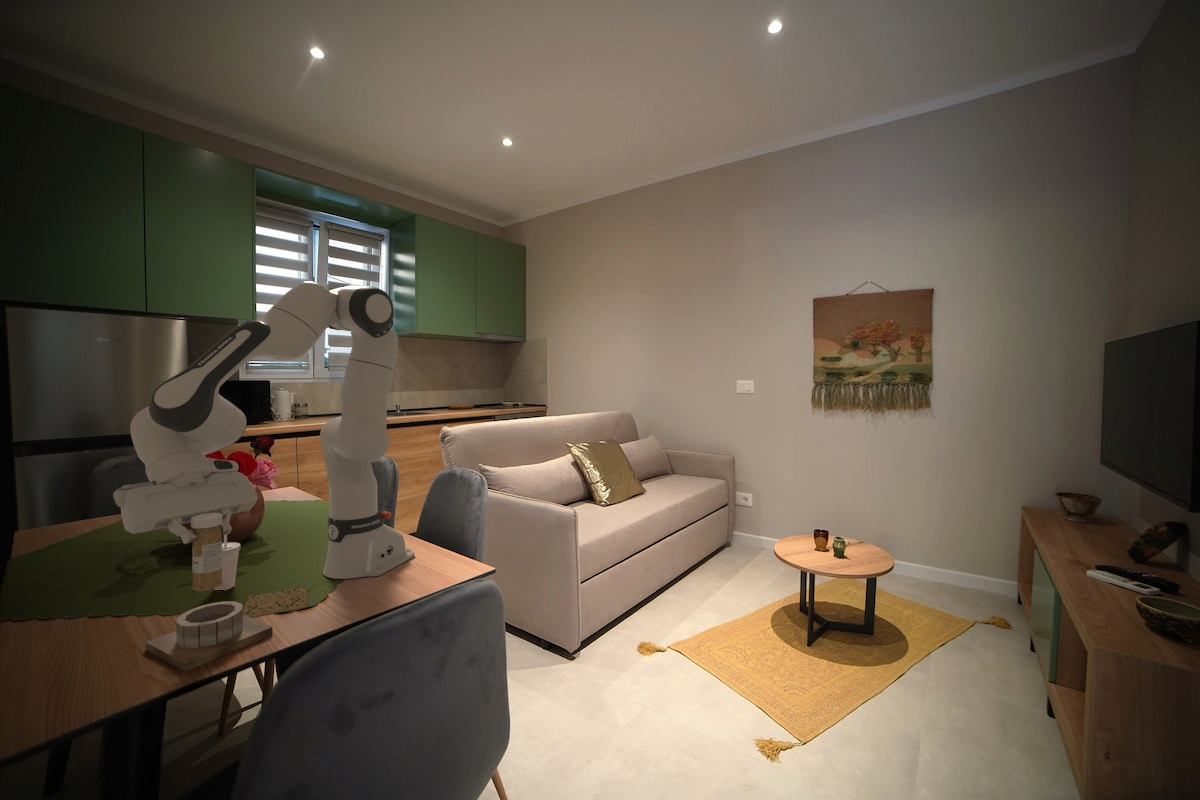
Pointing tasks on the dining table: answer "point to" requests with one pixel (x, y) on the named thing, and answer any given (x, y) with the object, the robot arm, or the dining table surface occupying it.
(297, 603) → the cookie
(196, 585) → the sprinkles bottle
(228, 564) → the smoothie
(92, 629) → the dining table surface
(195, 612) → the collar stand
